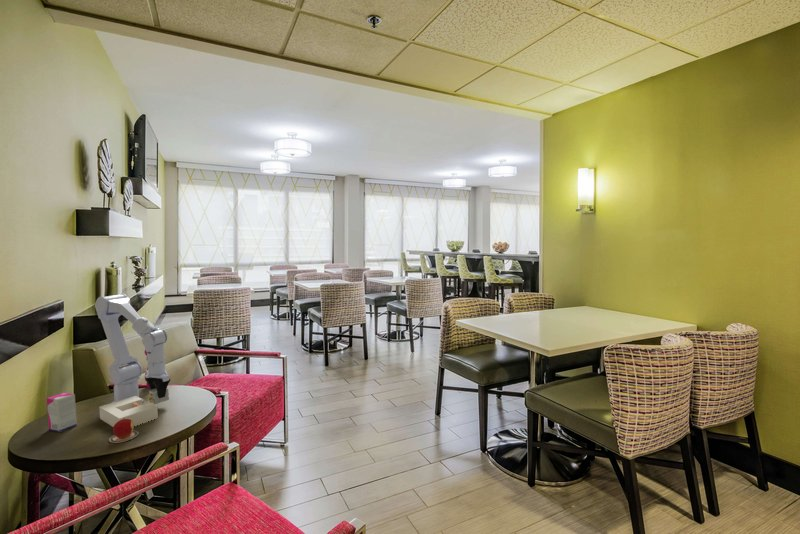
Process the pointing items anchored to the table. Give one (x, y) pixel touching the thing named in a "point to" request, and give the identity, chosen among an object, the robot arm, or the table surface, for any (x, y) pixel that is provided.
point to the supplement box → (61, 412)
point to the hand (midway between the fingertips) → (158, 395)
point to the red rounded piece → (123, 431)
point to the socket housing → (128, 411)
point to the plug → (154, 397)
